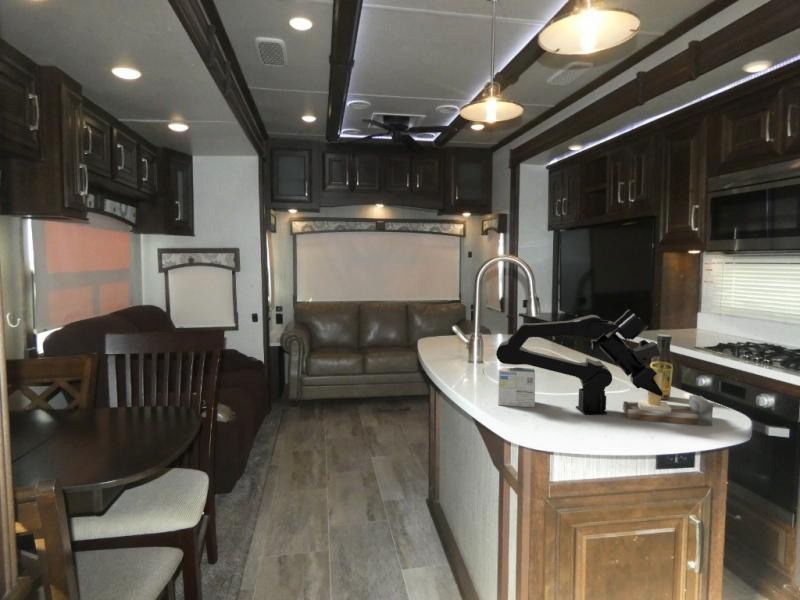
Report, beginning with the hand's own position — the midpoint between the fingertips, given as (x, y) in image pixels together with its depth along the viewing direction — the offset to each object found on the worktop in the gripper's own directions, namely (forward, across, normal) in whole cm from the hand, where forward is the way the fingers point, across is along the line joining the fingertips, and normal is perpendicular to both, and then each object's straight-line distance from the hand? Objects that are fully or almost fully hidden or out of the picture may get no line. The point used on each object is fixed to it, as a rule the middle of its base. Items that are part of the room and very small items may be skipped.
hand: (660, 393), depth 134 cm
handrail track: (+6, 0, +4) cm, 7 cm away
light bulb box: (-22, +2, +32) cm, 39 cm away
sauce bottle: (+8, +21, +2) cm, 22 cm away
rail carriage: (+2, 0, +4) cm, 5 cm away
